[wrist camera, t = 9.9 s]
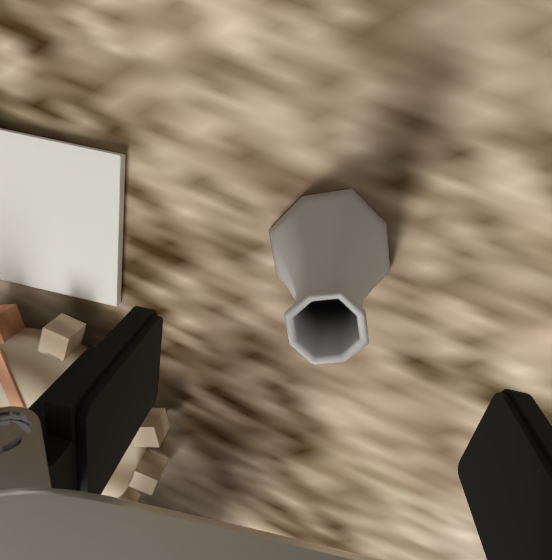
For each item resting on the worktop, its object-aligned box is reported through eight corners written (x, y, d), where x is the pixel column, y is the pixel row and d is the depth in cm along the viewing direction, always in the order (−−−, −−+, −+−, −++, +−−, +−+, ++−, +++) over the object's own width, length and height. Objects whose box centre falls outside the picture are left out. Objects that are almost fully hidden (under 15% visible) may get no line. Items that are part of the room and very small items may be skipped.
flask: (303, 318, 27) (287, 427, 18) (249, 222, 25) (198, 288, 15) (409, 274, 25) (454, 371, 15) (360, 165, 23) (377, 202, 13)
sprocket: (-61, 258, 27) (-205, 312, 20) (205, 376, 28) (159, 469, 21) (-75, 449, 35) (-182, 538, 28) (133, 537, 36) (82, 646, 29)
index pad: (125, 154, 24) (120, 155, 23) (120, 302, 28) (116, 306, 27) (-33, 120, 24) (-42, 121, 24) (-16, 271, 28) (-23, 274, 28)
